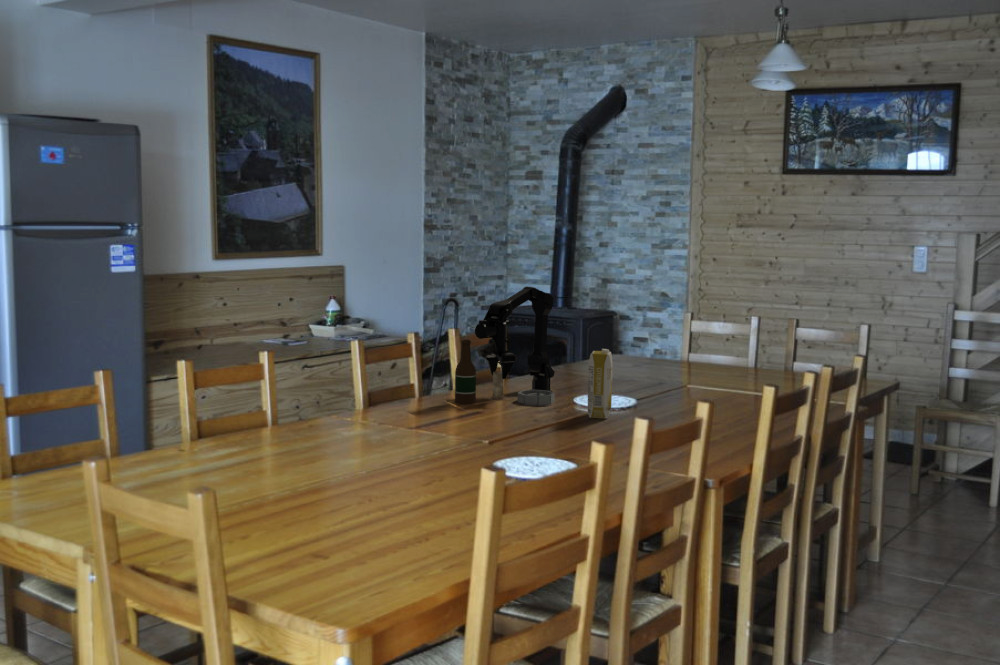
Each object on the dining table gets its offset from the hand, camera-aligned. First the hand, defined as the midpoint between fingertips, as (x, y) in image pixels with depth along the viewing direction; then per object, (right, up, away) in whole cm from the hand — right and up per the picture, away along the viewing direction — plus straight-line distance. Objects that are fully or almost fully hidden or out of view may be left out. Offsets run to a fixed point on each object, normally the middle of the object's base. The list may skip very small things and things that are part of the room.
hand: (498, 377), depth 376 cm
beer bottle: (-12, -10, -8) cm, 18 cm away
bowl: (+14, -10, -5) cm, 18 cm away
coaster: (0, -9, +1) cm, 9 cm away
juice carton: (+36, -13, -28) cm, 47 cm away
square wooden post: (0, -8, +1) cm, 8 cm away
